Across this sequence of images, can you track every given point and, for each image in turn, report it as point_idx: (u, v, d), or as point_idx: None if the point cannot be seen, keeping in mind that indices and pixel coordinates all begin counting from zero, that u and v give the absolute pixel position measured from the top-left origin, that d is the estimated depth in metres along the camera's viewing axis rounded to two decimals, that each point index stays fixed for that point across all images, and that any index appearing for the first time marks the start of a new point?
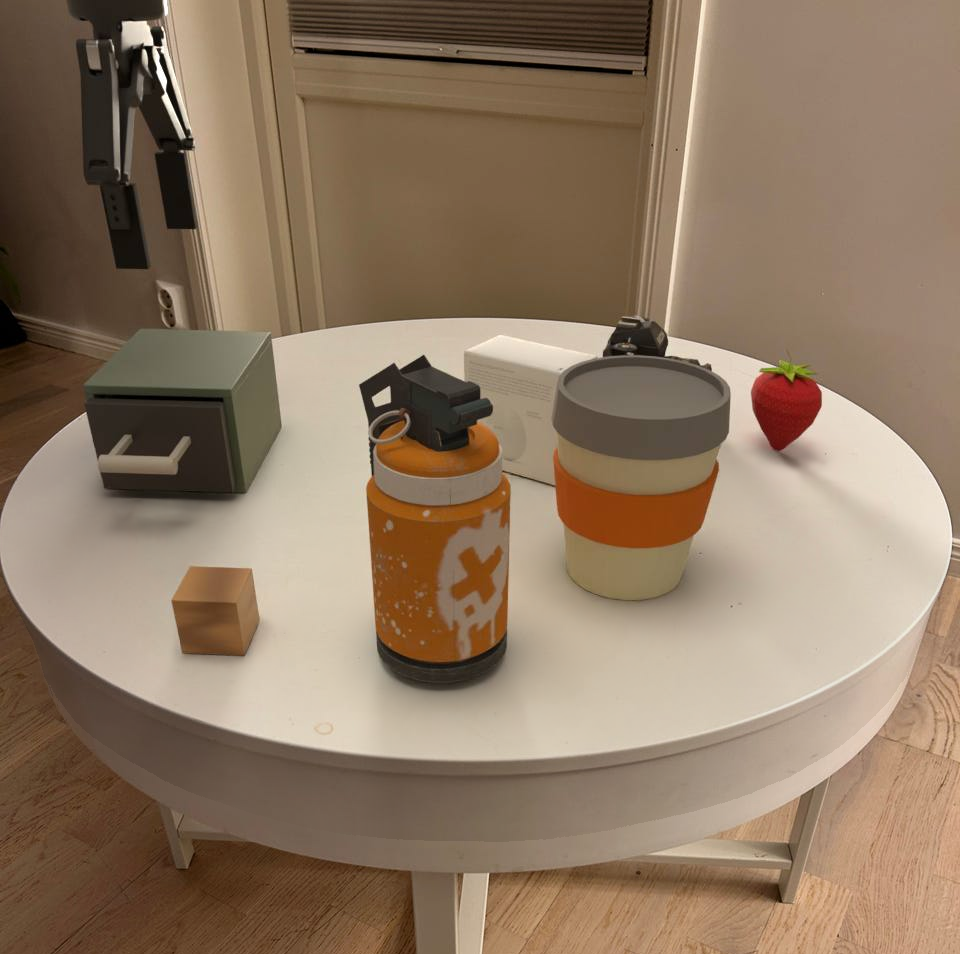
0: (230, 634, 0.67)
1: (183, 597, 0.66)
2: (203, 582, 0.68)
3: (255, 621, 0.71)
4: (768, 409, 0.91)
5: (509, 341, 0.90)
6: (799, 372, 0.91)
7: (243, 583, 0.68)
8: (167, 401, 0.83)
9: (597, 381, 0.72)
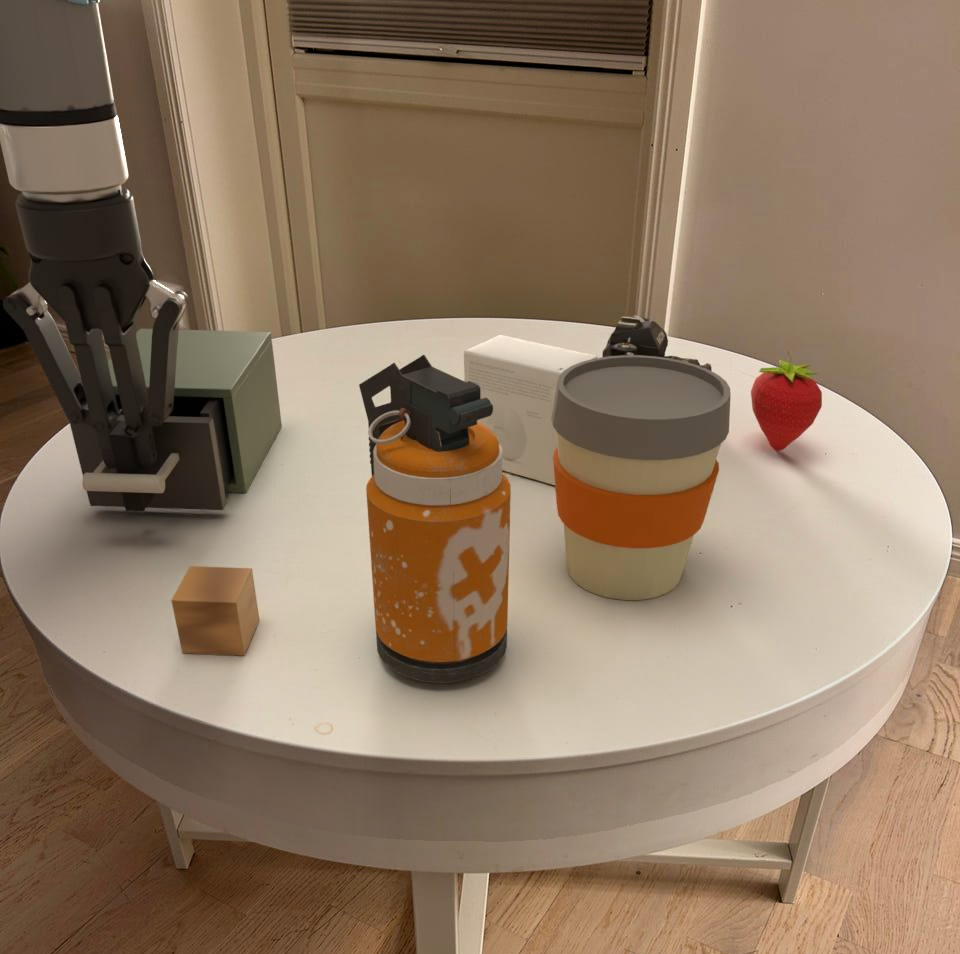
0: (230, 634, 0.67)
1: (183, 597, 0.66)
2: (203, 582, 0.68)
3: (255, 621, 0.71)
4: (768, 409, 0.91)
5: (509, 341, 0.90)
6: (799, 372, 0.91)
7: (243, 583, 0.68)
8: None
9: (597, 381, 0.72)
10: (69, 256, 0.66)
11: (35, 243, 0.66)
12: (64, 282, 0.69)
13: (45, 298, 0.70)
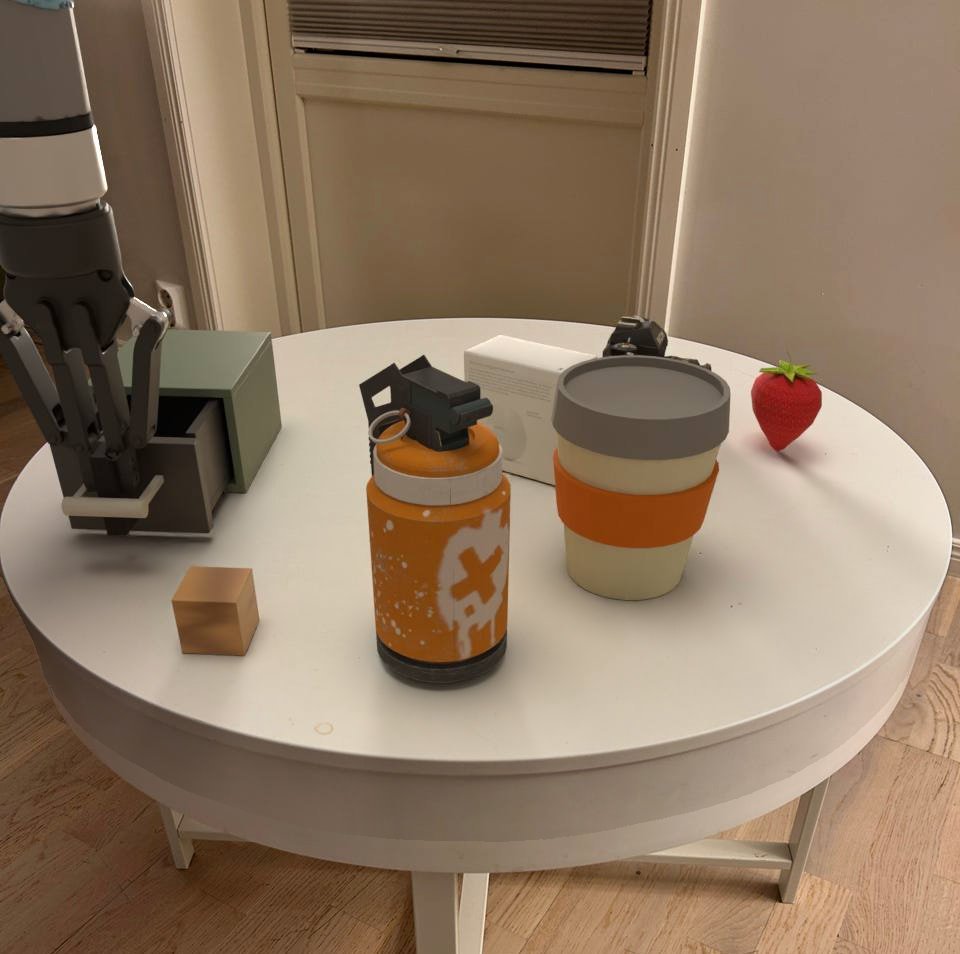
0: (230, 634, 0.67)
1: (183, 597, 0.66)
2: (203, 582, 0.68)
3: (255, 621, 0.71)
4: (768, 409, 0.91)
5: (509, 341, 0.90)
6: (799, 372, 0.91)
7: (243, 583, 0.68)
8: None
9: (597, 381, 0.72)
10: (44, 273, 0.62)
11: (8, 259, 0.63)
12: (40, 300, 0.66)
13: (21, 316, 0.67)
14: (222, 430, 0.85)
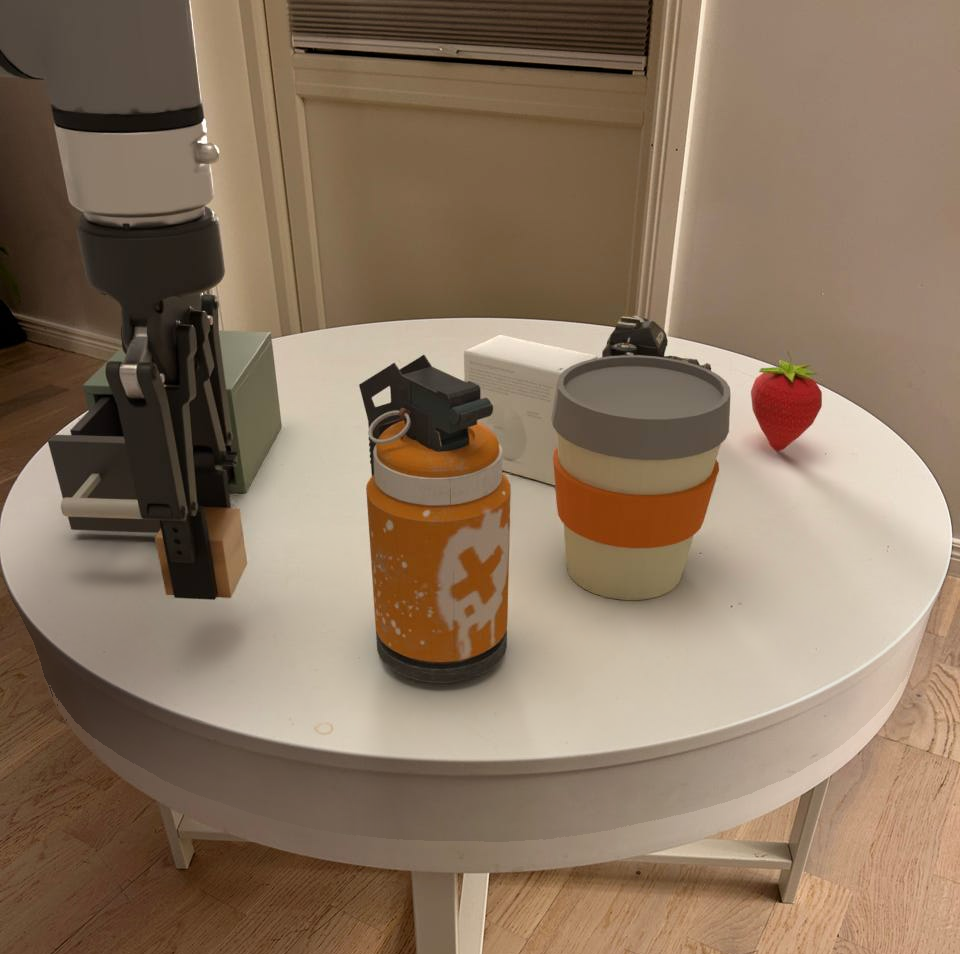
0: (216, 575, 0.65)
1: None
2: None
3: (243, 564, 0.68)
4: (768, 409, 0.91)
5: (509, 341, 0.90)
6: (799, 372, 0.91)
7: (230, 522, 0.65)
8: None
9: (597, 381, 0.72)
10: None
11: None
12: None
13: None
14: None
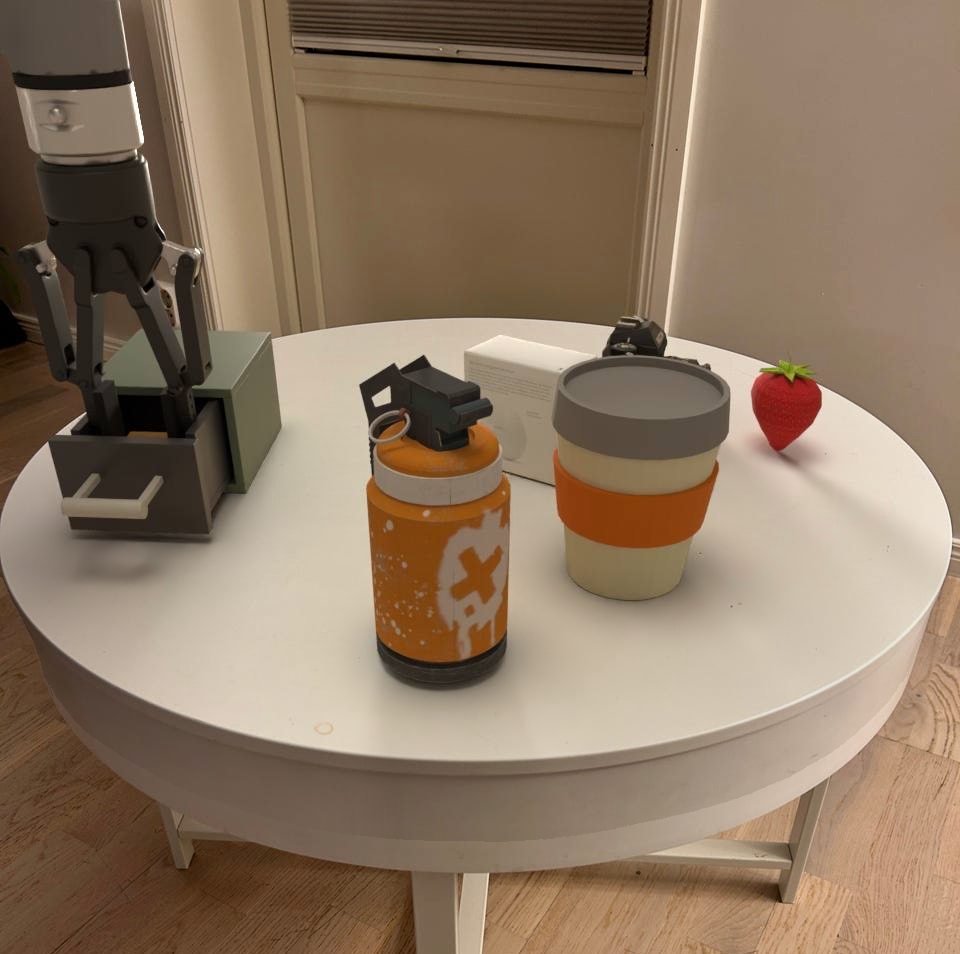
0: None
1: (132, 434, 0.83)
2: None
3: None
4: (768, 409, 0.91)
5: (509, 341, 0.90)
6: (799, 372, 0.91)
7: None
8: (137, 438, 0.77)
9: (597, 381, 0.72)
10: None
11: None
12: None
13: None
14: (221, 430, 0.85)
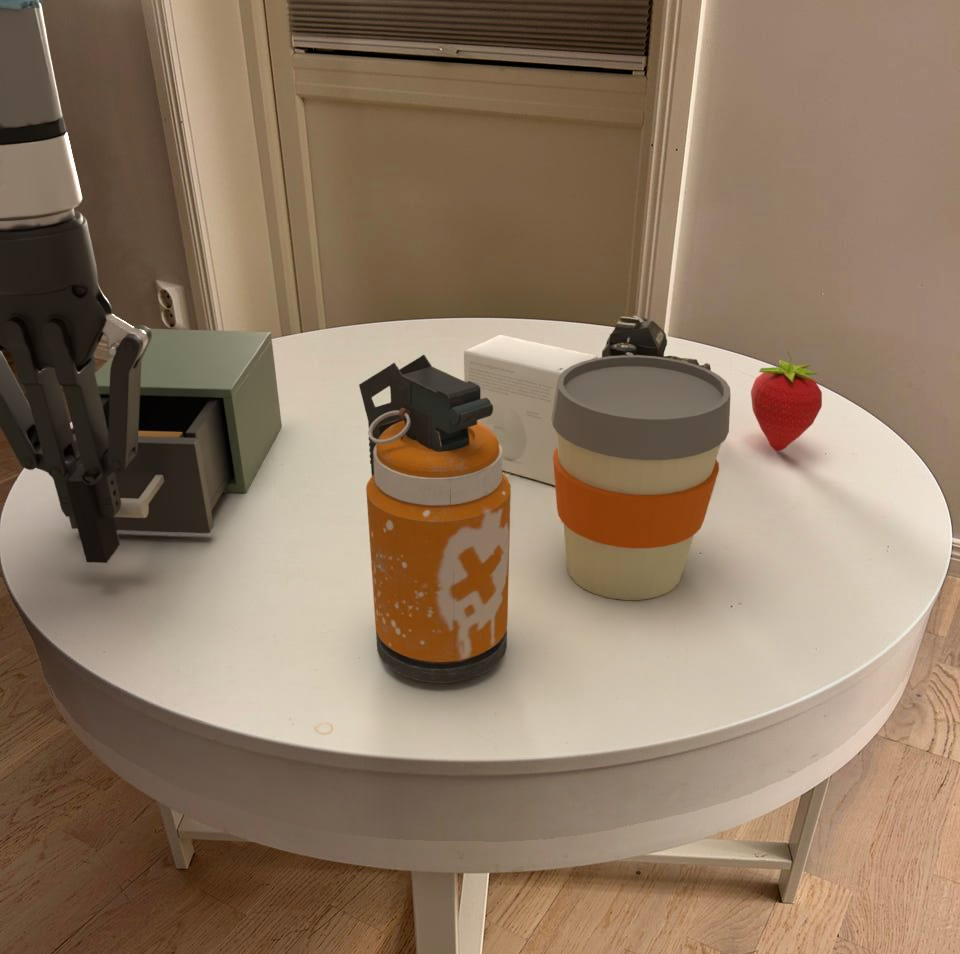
0: None
1: None
2: None
3: None
4: (768, 409, 0.91)
5: (509, 341, 0.90)
6: (799, 372, 0.91)
7: None
8: (138, 437, 0.77)
9: (597, 381, 0.72)
10: None
11: None
12: None
13: None
14: (222, 430, 0.85)
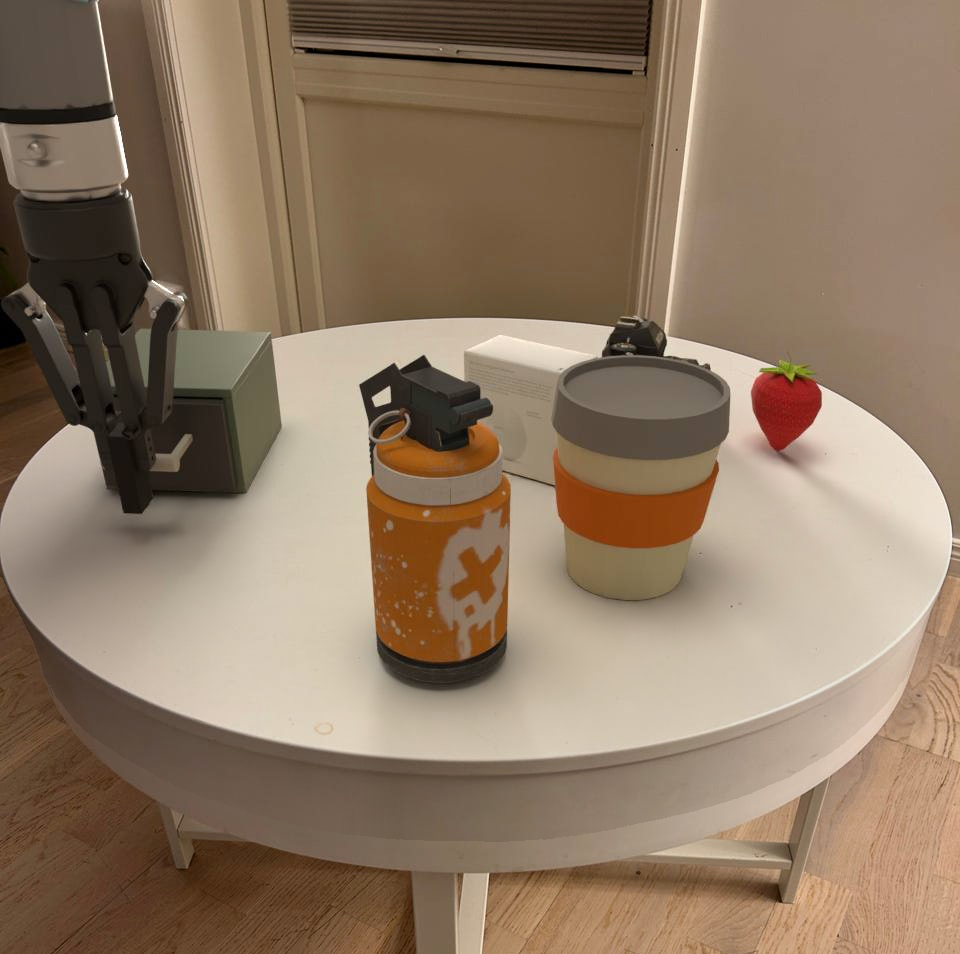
0: None
1: None
2: None
3: None
4: (768, 409, 0.91)
5: (509, 341, 0.90)
6: (799, 372, 0.91)
7: None
8: None
9: (597, 381, 0.72)
10: None
11: None
12: None
13: None
14: None
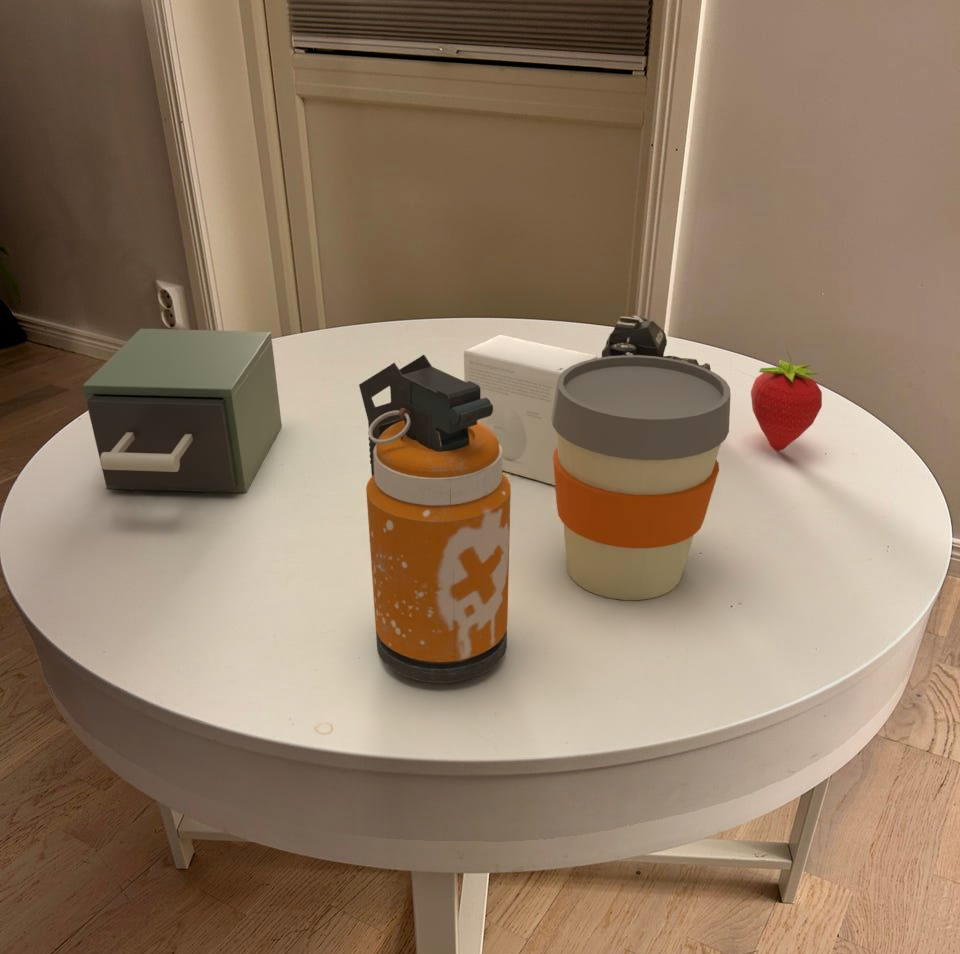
0: None
1: None
2: None
3: None
4: (768, 409, 0.91)
5: (509, 341, 0.90)
6: (799, 372, 0.91)
7: None
8: (169, 399, 0.83)
9: (597, 381, 0.72)
10: None
11: None
12: None
13: None
14: None
